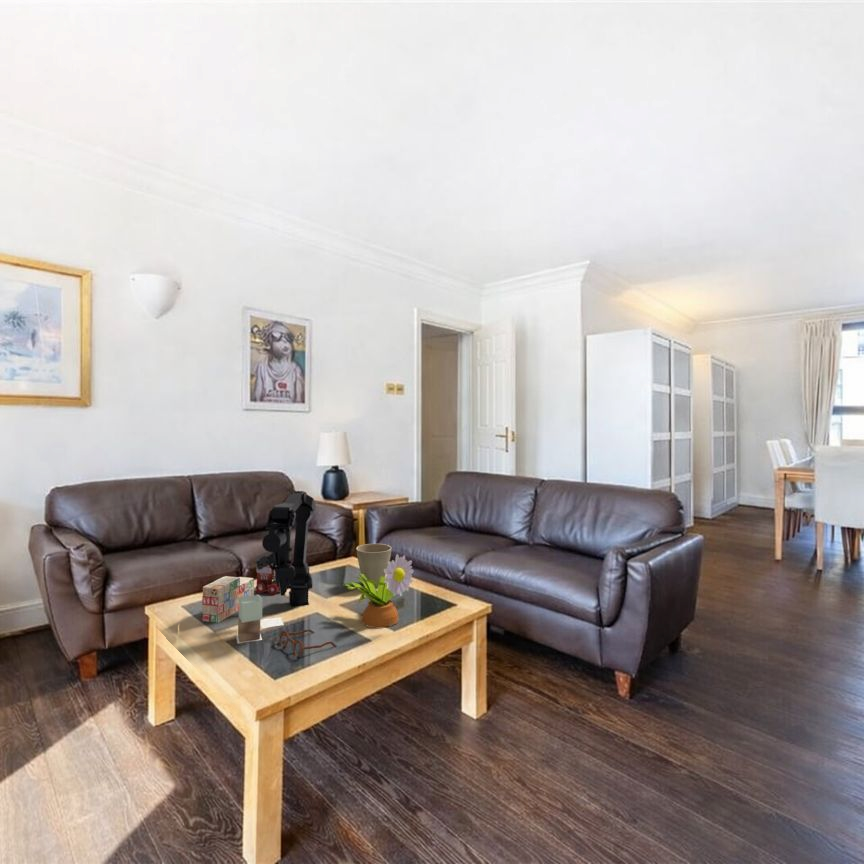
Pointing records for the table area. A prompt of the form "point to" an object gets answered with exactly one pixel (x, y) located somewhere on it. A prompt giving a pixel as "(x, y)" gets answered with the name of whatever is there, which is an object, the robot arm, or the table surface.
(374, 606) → the decorative plant
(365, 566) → the plant pot
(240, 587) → the stack of blocks
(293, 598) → the robot arm
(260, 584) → the toy fire truck
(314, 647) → the glasses
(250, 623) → the walnut block
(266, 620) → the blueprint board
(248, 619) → the sage block
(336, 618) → the table surface
